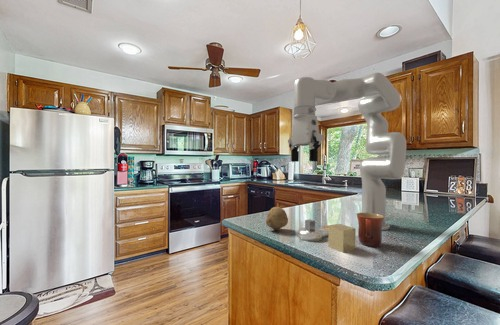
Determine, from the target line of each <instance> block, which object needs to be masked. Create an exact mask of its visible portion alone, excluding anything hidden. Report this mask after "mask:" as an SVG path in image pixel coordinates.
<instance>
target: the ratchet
mask: <svg viewBox="0 0 500 325" xmlns="http://www.w3.org/2000/svg"><path fill="white" fill-rule="evenodd" d="M337 224H338V223H336V224H334V225H337ZM332 225H333V224H331V225H325V226H323V227H321V228H316V221H315V220H313V219H310V218H309V219H305V220H304V227H300V228H298V229H297V238H298V239H300V240H303V241H306V242H320V241H322V240H323V238H324V237H329V226H332Z"/></svg>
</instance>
